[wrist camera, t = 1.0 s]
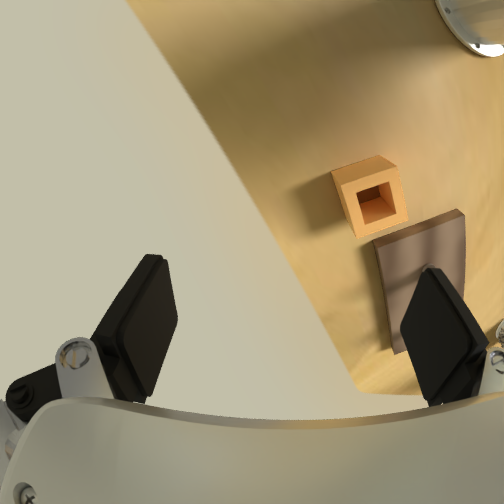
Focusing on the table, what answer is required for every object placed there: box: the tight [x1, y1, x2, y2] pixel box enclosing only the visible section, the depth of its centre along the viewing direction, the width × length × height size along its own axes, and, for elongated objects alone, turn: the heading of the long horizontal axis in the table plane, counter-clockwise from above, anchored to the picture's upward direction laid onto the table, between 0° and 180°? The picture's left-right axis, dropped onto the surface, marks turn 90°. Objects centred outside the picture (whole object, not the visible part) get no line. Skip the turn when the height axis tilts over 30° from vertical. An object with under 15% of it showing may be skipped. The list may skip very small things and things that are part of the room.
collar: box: [331, 155, 408, 239], centre depth 28 cm, size 6×6×5 cm
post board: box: [373, 209, 466, 355], centre depth 32 cm, size 13×22×10 cm, turn 24°
